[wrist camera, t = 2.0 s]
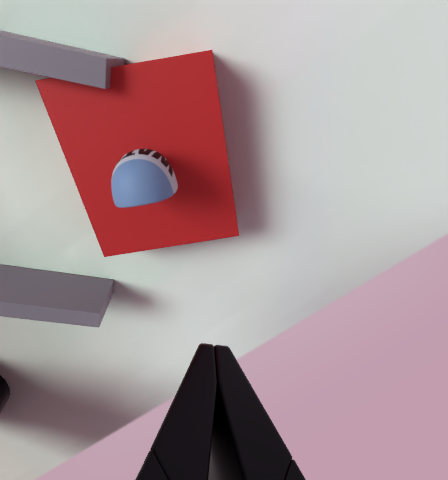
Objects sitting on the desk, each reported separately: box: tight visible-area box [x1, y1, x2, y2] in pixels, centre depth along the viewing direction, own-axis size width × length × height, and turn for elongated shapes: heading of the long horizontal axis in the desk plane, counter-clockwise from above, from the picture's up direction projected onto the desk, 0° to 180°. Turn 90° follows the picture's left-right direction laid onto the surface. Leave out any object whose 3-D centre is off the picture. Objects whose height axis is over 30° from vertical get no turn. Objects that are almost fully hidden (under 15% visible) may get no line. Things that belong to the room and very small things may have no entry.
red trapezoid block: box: [35, 50, 239, 257], centre depth 14 cm, size 8×7×6 cm
